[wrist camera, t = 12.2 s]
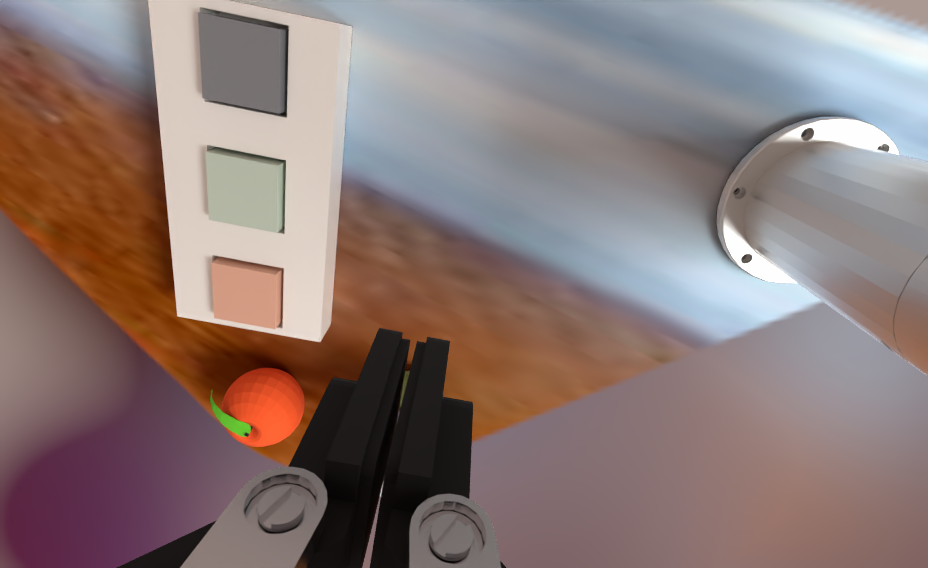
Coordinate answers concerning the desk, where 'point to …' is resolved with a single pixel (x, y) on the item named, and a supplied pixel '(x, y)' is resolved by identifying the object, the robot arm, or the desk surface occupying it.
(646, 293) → the desk surface
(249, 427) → the clementine
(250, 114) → the panel
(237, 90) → the charcoal button
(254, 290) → the terracotta button
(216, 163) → the sage button
